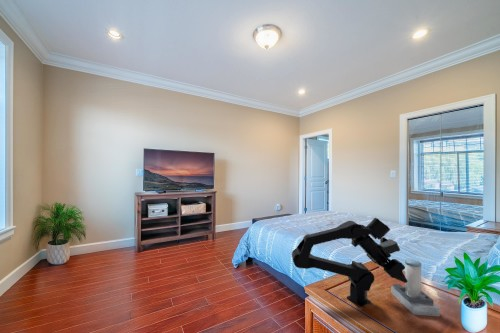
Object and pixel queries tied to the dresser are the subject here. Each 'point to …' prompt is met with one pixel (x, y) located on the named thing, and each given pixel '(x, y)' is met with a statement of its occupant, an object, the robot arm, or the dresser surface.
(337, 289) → the dresser surface
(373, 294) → the dresser surface
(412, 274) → the lidded container
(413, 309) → the digital kitchen scale
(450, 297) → the dresser surface
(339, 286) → the dresser surface
